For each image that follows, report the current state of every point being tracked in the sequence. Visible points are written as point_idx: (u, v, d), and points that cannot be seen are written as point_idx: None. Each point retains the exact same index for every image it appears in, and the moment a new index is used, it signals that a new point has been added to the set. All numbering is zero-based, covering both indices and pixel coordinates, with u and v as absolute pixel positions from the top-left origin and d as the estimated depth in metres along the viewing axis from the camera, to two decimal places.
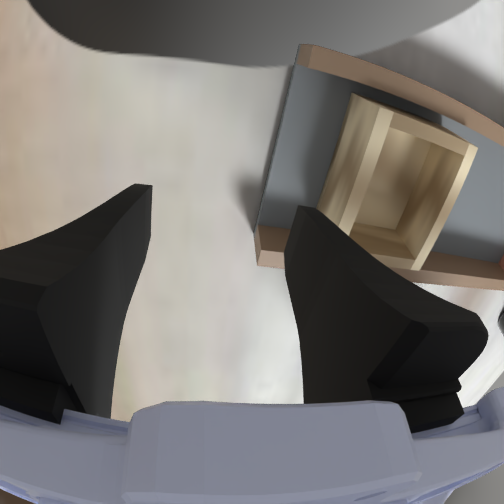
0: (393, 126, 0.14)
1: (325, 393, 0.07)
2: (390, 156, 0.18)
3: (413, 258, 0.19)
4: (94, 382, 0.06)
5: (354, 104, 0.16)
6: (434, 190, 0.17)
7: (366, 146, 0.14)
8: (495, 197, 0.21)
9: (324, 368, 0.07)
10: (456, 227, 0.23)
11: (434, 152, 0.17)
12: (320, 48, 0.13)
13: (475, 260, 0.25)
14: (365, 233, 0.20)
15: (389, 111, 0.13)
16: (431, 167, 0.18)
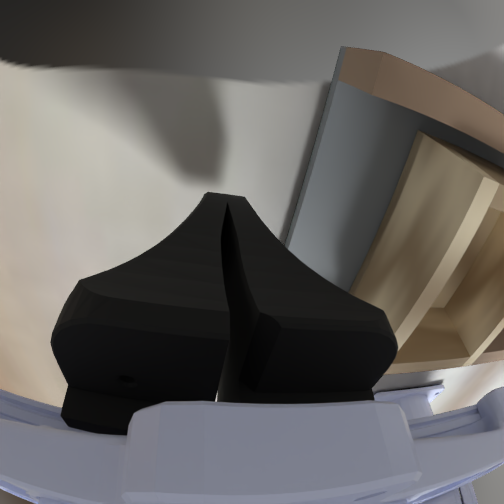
0: (494, 205, 0.08)
1: (224, 391, 0.07)
2: None
3: (468, 354, 0.13)
4: None
5: (424, 152, 0.10)
6: None
7: (452, 238, 0.08)
8: None
9: (225, 364, 0.07)
10: None
11: None
12: (395, 60, 0.06)
13: None
14: None
15: (494, 182, 0.07)
16: None
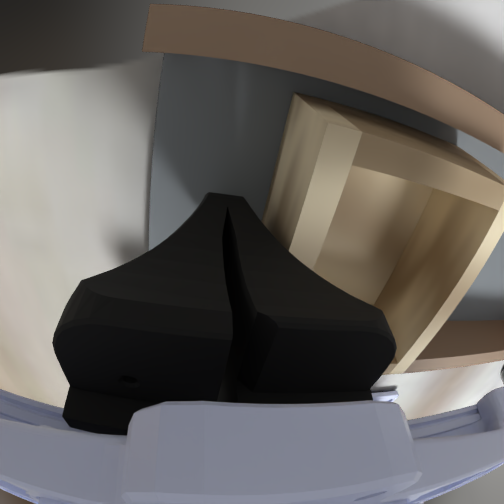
0: (361, 163, 0.07)
1: (222, 391, 0.07)
2: (367, 201, 0.11)
3: (394, 361, 0.12)
4: None
5: (294, 114, 0.09)
6: (438, 261, 0.10)
7: (301, 209, 0.07)
8: None
9: None
10: None
11: (443, 193, 0.10)
12: (164, 7, 0.05)
13: (480, 323, 0.18)
14: None
15: (351, 131, 0.06)
16: (436, 218, 0.11)
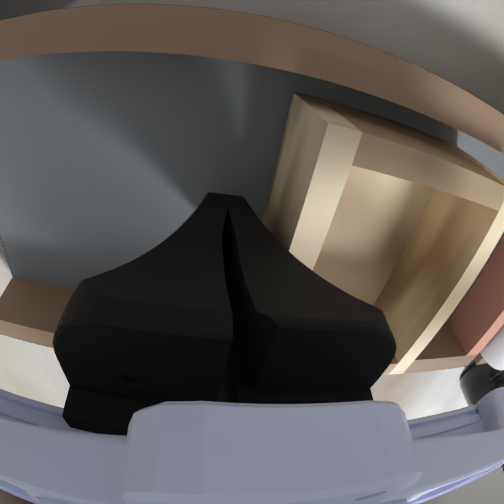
0: (361, 164, 0.07)
1: (222, 391, 0.07)
2: (368, 202, 0.11)
3: (394, 361, 0.12)
4: None
5: (294, 114, 0.09)
6: (439, 261, 0.10)
7: (301, 209, 0.07)
8: None
9: None
10: None
11: (443, 193, 0.10)
12: None
13: None
14: None
15: (351, 131, 0.06)
16: (436, 219, 0.11)
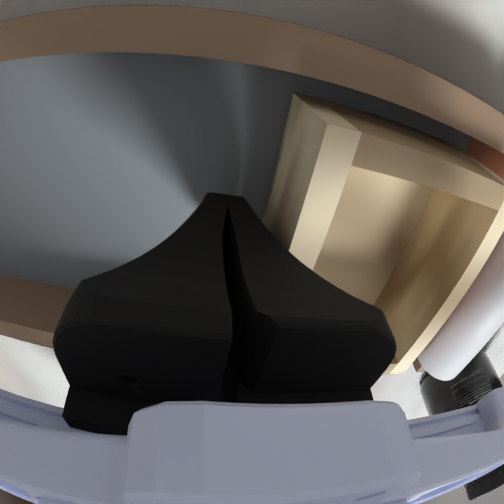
0: (361, 164, 0.07)
1: (222, 391, 0.07)
2: (367, 201, 0.11)
3: (394, 361, 0.12)
4: None
5: (294, 115, 0.09)
6: (438, 261, 0.10)
7: (300, 209, 0.07)
8: None
9: None
10: None
11: (443, 193, 0.10)
12: None
13: None
14: None
15: (351, 131, 0.06)
16: (436, 218, 0.11)
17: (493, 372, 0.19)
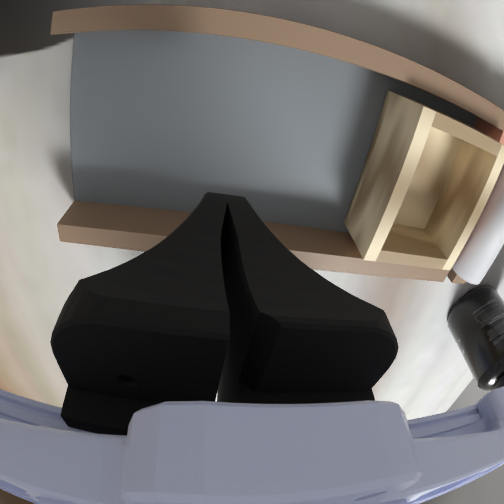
0: (435, 126, 0.13)
1: (224, 391, 0.07)
2: (423, 155, 0.17)
3: (445, 258, 0.18)
4: None
5: (391, 102, 0.15)
6: (466, 190, 0.17)
7: (409, 145, 0.14)
8: None
9: (225, 364, 0.07)
10: (331, 193, 0.19)
11: (465, 152, 0.17)
12: (59, 12, 0.09)
13: None
14: (398, 233, 0.19)
15: (432, 111, 0.12)
16: (462, 167, 0.17)
17: None
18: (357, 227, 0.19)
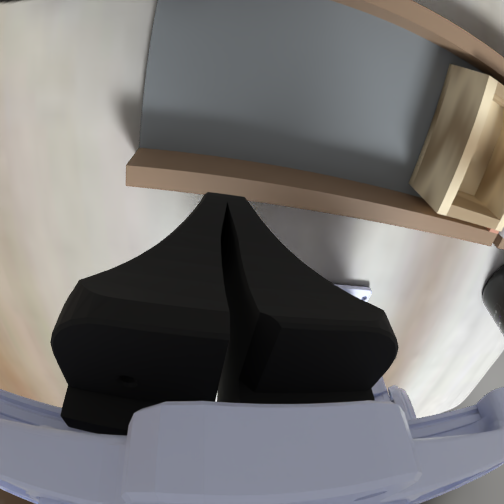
0: (497, 93, 0.12)
1: (224, 391, 0.07)
2: None
3: (498, 219, 0.18)
4: None
5: (455, 73, 0.14)
6: None
7: (478, 108, 0.13)
8: None
9: (225, 364, 0.07)
10: (400, 153, 0.19)
11: None
12: None
13: None
14: (457, 195, 0.19)
15: (495, 80, 0.12)
16: None
17: None
18: (427, 185, 0.18)
